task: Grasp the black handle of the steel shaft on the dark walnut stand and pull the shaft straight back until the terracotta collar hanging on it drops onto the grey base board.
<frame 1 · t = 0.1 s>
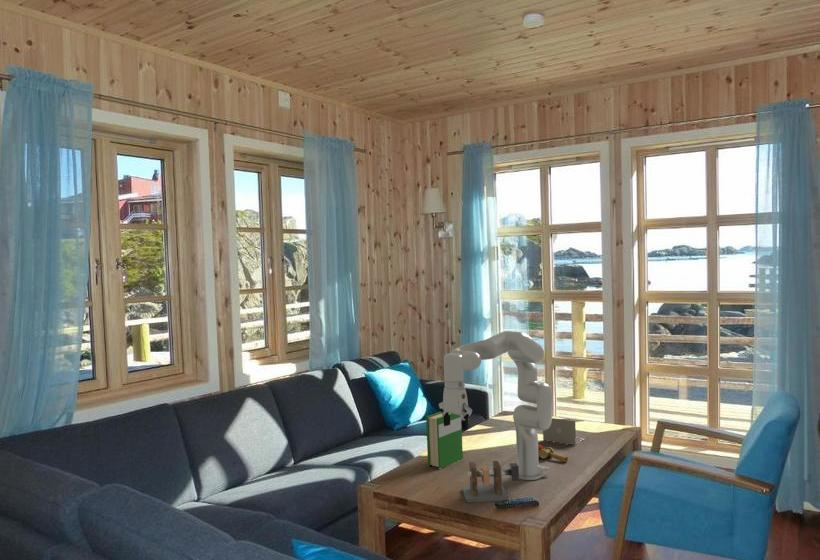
hand: (455, 427, 249), 31 cm above the table, tool pointing down, fingers open, 9 cm apart
shaft: (493, 473, 259), point 9 cm above the table, slide at 0.0 cm, touching collar
kendama: (549, 459, 301), on the table
laptop: (564, 441, 330), on the table
stand: (485, 478, 259), on the base board, point 7 cm above the table
hardback book: (445, 463, 302), on the table
base board: (486, 495, 259), on the table
collar: (485, 482, 259), point 5 cm above the table, touching shaft
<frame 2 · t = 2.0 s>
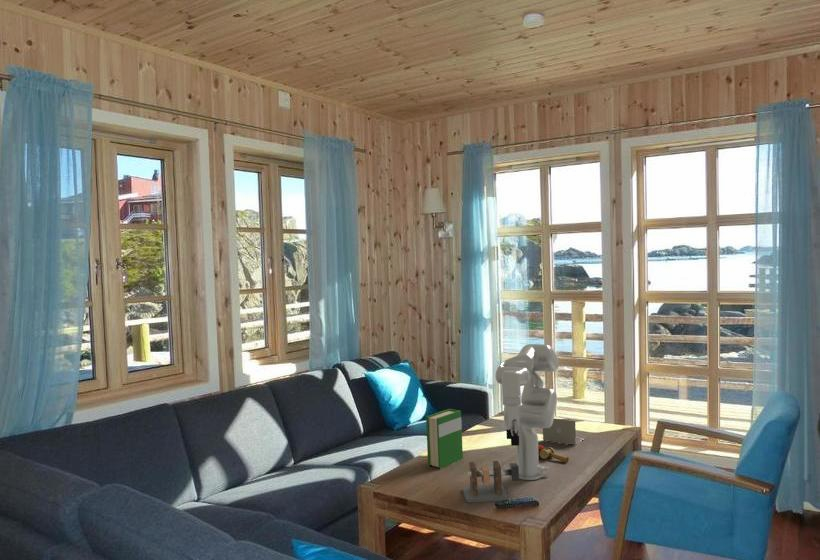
hand: (512, 441, 258), 22 cm above the table, tool pointing down, fingers open, 9 cm apart
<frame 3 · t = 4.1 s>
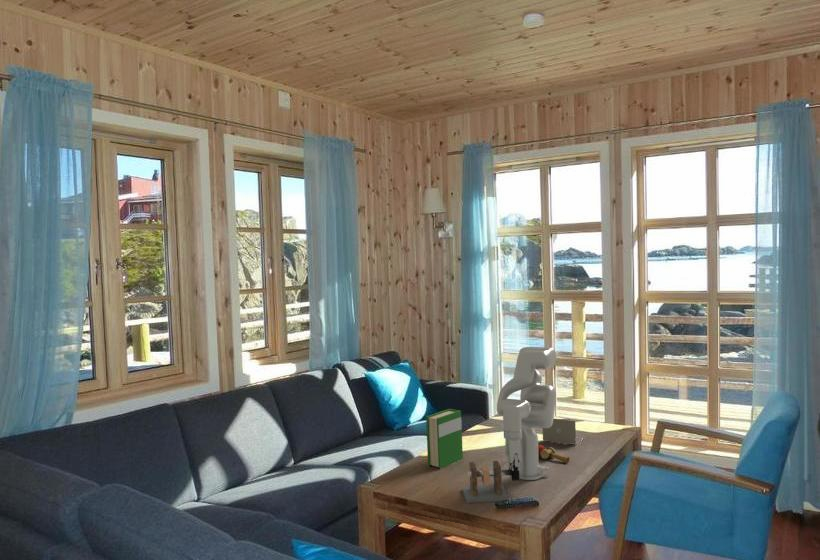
hand: (514, 477, 259), 7 cm above the table, tool pointing down, fingers closed on shaft, 4 cm apart
shaft: (493, 473, 259), point 9 cm above the table, slide at 0.0 cm, touching collar, gripper
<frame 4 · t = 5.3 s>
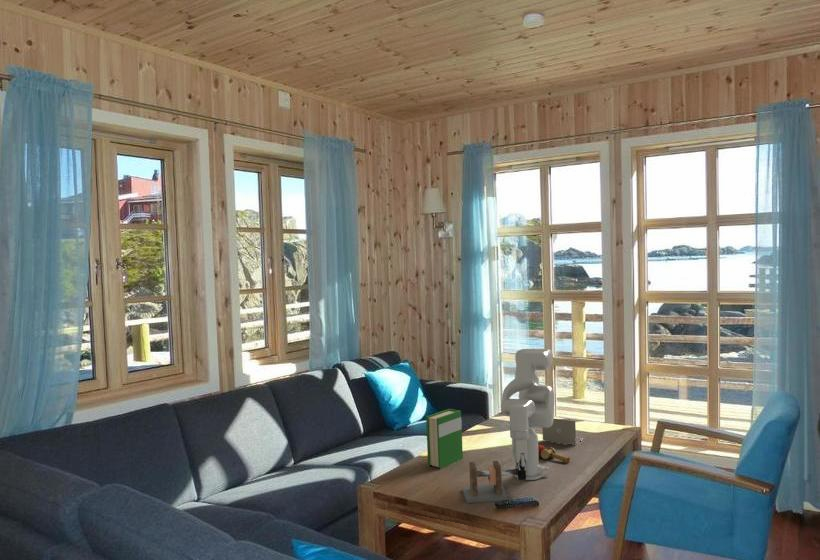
hand: (520, 476, 259), 7 cm above the table, tool pointing down, fingers closed on shaft, 4 cm apart
shaft: (499, 472, 259), point 9 cm above the table, slide at 2.8 cm, touching collar, gripper
collar: (492, 482, 259), point 5 cm above the table, touching shaft
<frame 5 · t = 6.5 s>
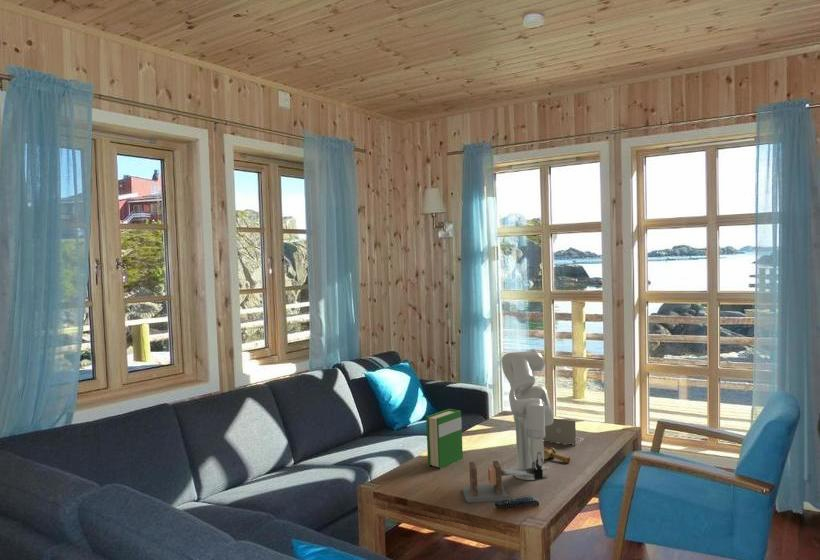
hand: (537, 476, 259), 7 cm above the table, tool pointing down, fingers closed on shaft, 4 cm apart
shaft: (516, 471, 259), point 9 cm above the table, slide at 9.6 cm, touching gripper
collar: (492, 482, 259), point 5 cm above the table
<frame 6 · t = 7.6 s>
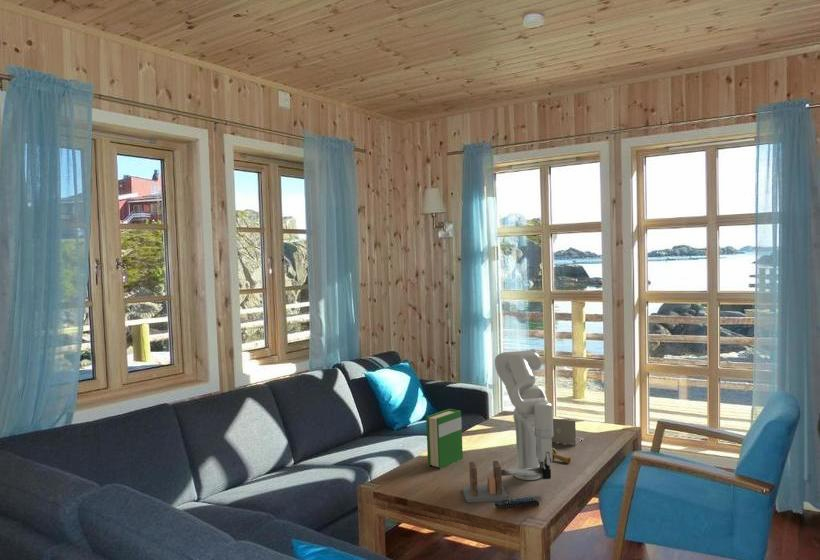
hand: (545, 475, 259), 7 cm above the table, tool pointing down, fingers closed on shaft, 4 cm apart
shaft: (524, 471, 259), point 9 cm above the table, slide at 13.0 cm, touching gripper
collar: (491, 491, 259), point 1 cm above the table, touching base board
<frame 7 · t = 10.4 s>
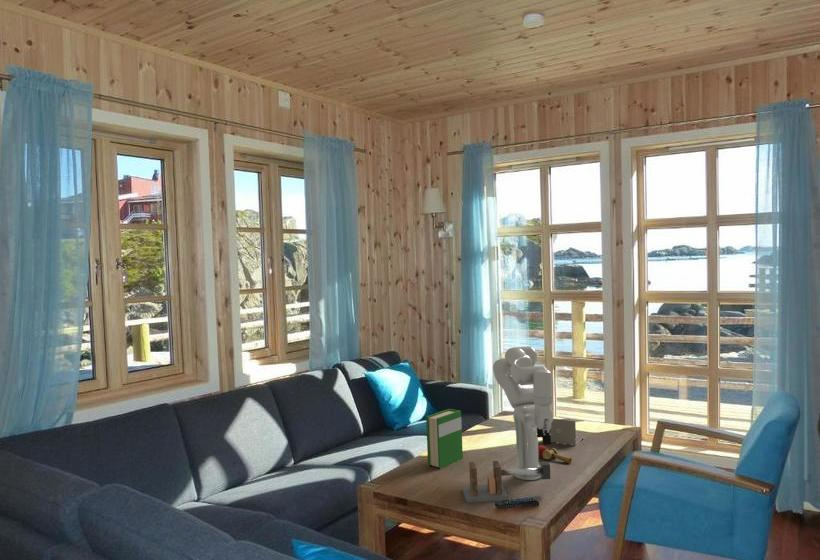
hand: (543, 440, 259), 21 cm above the table, tool pointing down, fingers open, 9 cm apart
shaft: (524, 471, 259), point 9 cm above the table, slide at 13.0 cm
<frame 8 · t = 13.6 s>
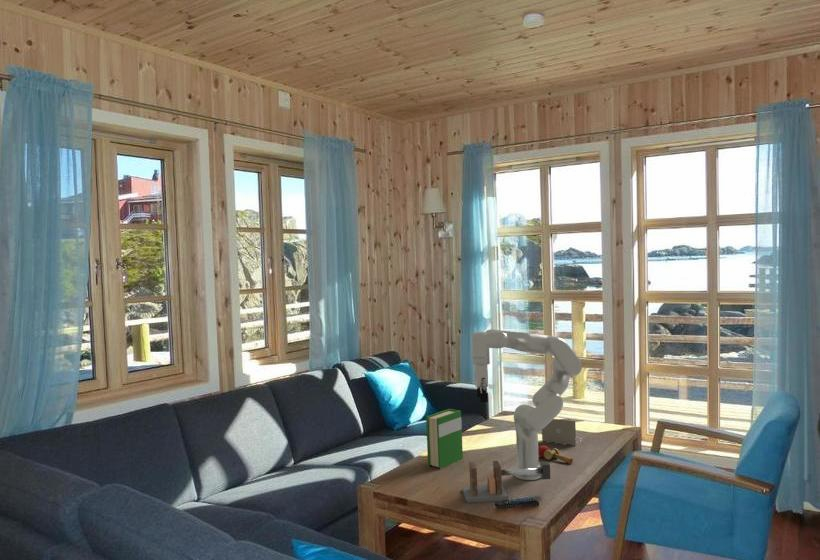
hand: (482, 399, 273), 36 cm above the table, tool pointing down, fingers open, 9 cm apart
at the end: shaft slide at 13.0 cm; collar point 1.5 cm above the table; collar touching base board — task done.
